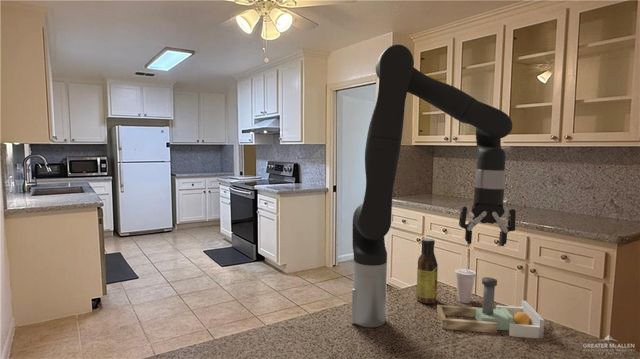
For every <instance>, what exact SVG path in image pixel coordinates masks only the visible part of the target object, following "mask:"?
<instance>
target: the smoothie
mask: <svg viewBox="0 0 640 359" xmlns="http://www.w3.org/2000/svg"><path fill="white" fill-rule="evenodd" d="M469 262H470V258H469V257H467V258H466V268H456V269H455V270H454V274H455V280H456V281H455V282H456V293H457V301H458V302H459V303H462V304H470V303H471V299H472V294H473V289H474V283H475V278H476V277H477V273H476V271H474V270H472V269H469Z"/></svg>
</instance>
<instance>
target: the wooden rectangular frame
mask: <svg viewBox="0 0 640 359" xmlns="http://www.w3.org/2000/svg"><path fill="white" fill-rule="evenodd" d="M475 308H477V307H476V306H475V307H473V306H461V305H460V306H458V305H448V304H447V305H445V304H437V305H436V314H437V317H438V320H439V322H440V326H441V328H442V329H443V330H456V331H457V330H459V331H468V332H469V331H470V332H482V333H493V334H495V333H496V334H497V333H498V330H497V323H496V322H487V321H477V320H473V319H458V318H447V317H446V316H453V317H454V316H458V317H471V318H475Z"/></svg>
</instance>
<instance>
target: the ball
mask: <svg viewBox="0 0 640 359" xmlns="http://www.w3.org/2000/svg"><path fill="white" fill-rule="evenodd" d="M513 323H514V324H524V325H529V323H530V318H529V316H528V315H527V314H526V313H524V312H518V313H516V314H515V315H514V321H513Z"/></svg>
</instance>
